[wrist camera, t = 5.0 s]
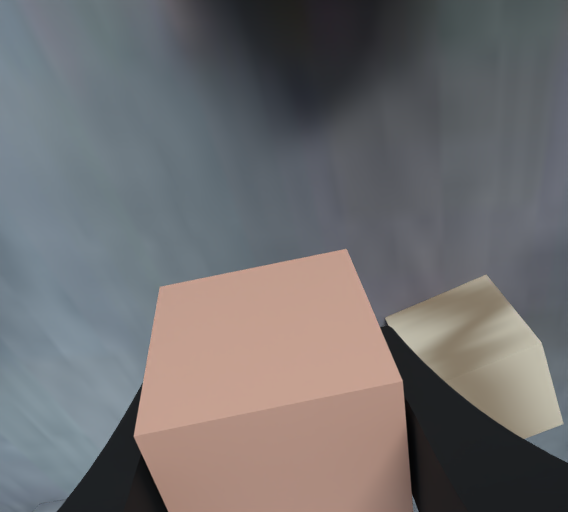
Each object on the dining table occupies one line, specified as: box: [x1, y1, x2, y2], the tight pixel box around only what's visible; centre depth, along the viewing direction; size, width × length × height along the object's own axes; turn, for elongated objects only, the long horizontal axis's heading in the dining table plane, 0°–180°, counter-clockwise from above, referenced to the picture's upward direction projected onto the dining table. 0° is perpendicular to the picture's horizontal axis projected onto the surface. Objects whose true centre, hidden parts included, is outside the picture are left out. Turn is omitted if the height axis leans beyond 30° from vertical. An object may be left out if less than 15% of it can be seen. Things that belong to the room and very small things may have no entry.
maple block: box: [385, 275, 563, 439], centre depth 24 cm, size 5×5×5 cm
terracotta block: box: [134, 249, 413, 512], centre depth 13 cm, size 5×5×5 cm
